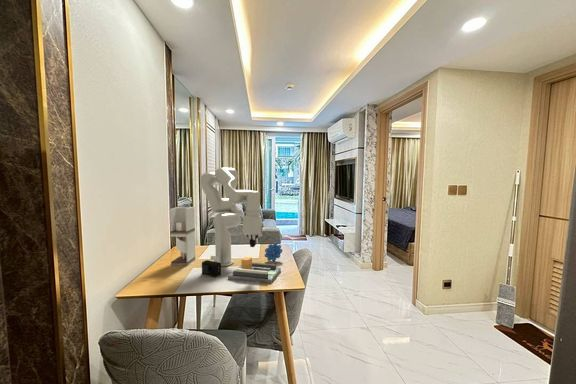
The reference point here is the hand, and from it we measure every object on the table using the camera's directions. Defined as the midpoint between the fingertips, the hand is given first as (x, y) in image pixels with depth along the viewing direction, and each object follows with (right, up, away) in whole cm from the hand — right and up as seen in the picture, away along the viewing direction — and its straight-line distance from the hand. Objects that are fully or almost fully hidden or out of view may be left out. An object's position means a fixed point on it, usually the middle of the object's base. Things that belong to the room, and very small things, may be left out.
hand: (252, 246), depth 141 cm
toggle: (-3, -14, +1) cm, 14 cm away
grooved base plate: (+1, -14, 0) cm, 14 cm away
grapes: (+10, -15, +26) cm, 31 cm away
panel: (+1, -16, 0) cm, 16 cm away
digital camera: (-23, -16, +1) cm, 28 cm away
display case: (-47, -15, +23) cm, 55 cm away
